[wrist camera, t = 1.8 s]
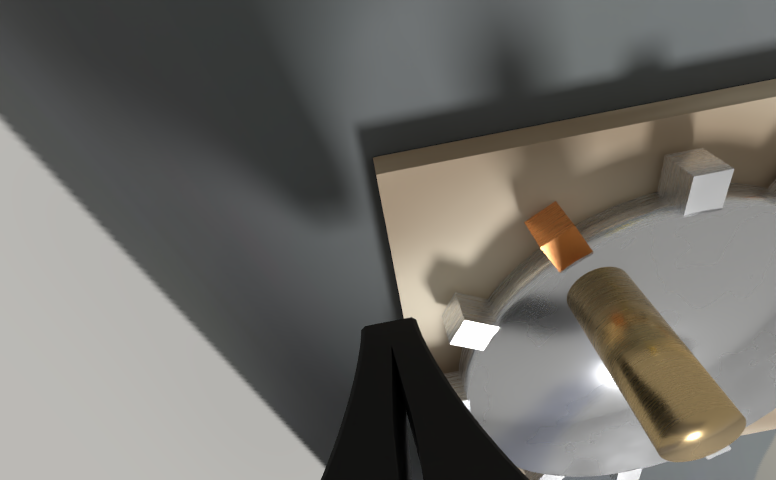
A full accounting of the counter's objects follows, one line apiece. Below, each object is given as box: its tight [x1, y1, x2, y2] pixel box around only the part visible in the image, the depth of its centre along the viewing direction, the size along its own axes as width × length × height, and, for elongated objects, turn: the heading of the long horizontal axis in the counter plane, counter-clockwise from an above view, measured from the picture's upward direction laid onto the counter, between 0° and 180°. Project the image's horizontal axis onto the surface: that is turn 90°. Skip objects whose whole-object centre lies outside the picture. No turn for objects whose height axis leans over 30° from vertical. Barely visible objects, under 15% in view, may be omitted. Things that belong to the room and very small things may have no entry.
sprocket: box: [441, 148, 776, 480], centre depth 15 cm, size 15×15×6 cm
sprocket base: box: [373, 79, 776, 475], centre depth 17 cm, size 17×16×1 cm
